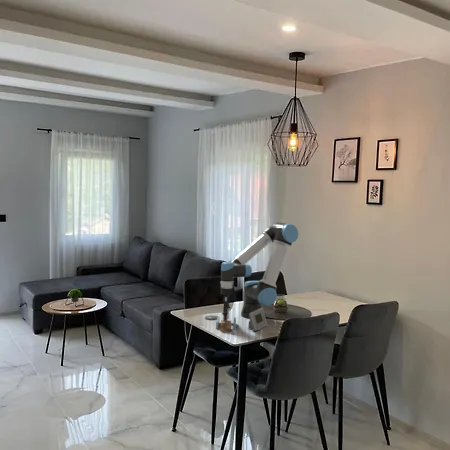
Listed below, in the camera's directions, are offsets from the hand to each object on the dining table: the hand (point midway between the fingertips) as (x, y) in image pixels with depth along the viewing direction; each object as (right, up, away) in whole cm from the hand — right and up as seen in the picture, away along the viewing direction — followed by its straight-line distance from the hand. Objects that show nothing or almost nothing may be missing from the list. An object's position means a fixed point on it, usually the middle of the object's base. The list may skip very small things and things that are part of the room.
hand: (225, 322), depth 280 cm
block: (0, -3, -10) cm, 10 cm away
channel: (0, -2, -2) cm, 3 cm away
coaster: (-9, -1, +15) cm, 18 cm away
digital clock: (+19, -3, -5) cm, 20 cm away
